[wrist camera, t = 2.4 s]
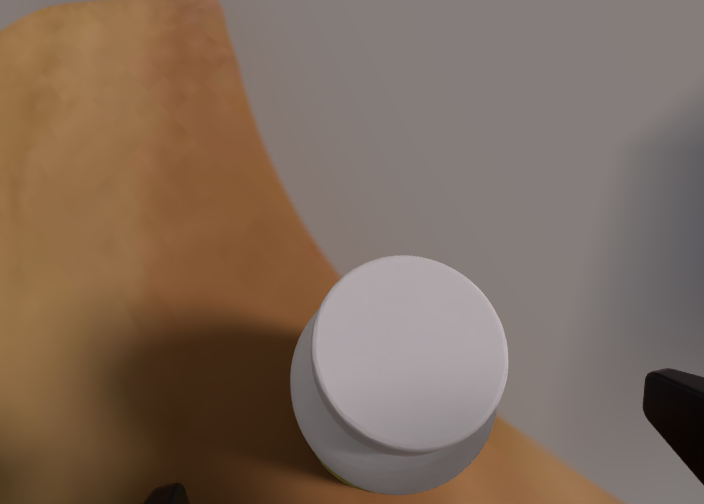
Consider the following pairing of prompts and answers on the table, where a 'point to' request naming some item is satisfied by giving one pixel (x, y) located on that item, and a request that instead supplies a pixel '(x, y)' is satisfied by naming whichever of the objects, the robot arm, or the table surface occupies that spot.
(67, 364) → the table surface
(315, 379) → the supplement bottle
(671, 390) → the robot arm
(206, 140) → the table surface
